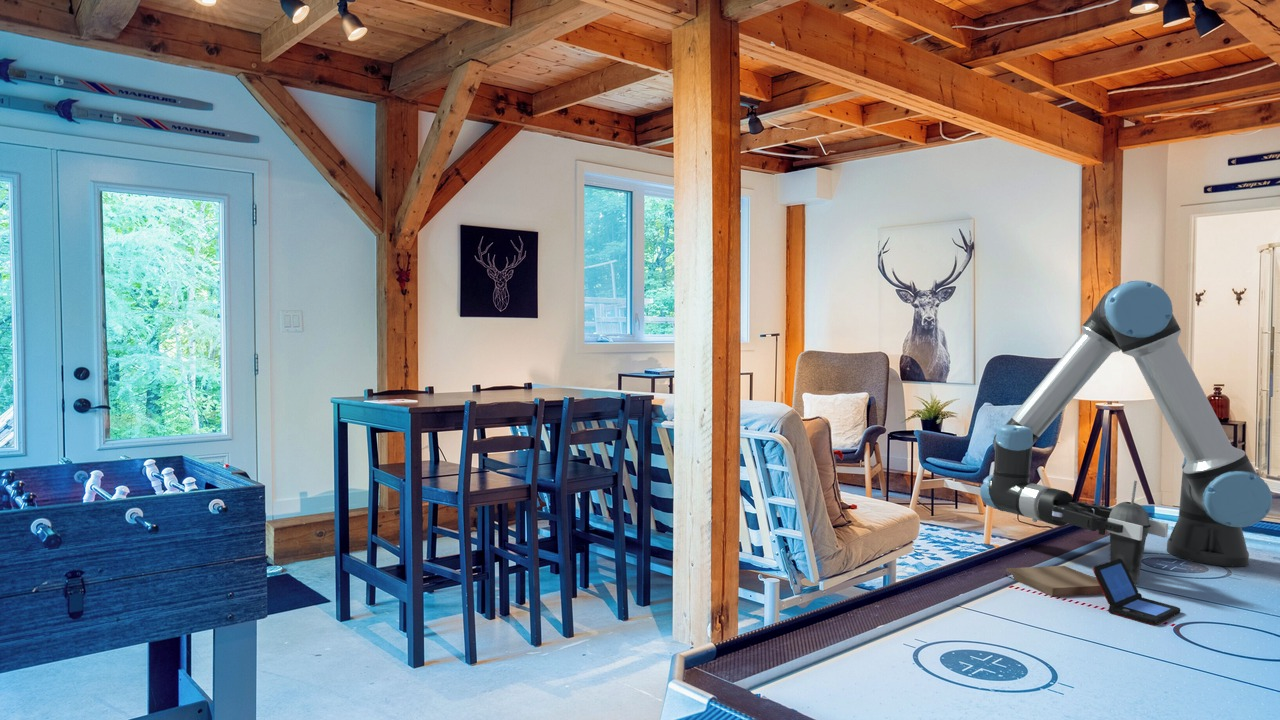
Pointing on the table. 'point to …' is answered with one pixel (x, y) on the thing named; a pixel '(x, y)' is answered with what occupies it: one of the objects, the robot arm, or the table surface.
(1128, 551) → the beverage cup
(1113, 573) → the handheld game console
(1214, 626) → the table surface
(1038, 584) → the walnut board
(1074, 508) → the robot arm
